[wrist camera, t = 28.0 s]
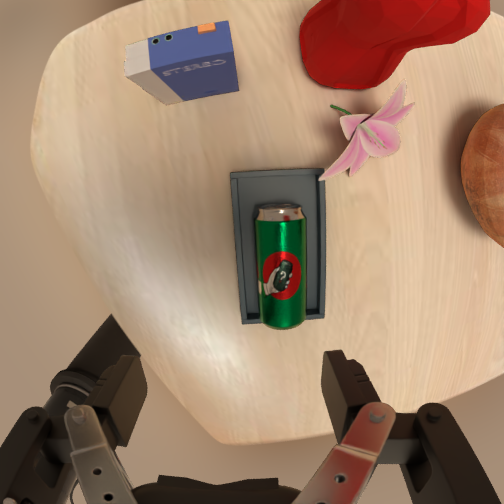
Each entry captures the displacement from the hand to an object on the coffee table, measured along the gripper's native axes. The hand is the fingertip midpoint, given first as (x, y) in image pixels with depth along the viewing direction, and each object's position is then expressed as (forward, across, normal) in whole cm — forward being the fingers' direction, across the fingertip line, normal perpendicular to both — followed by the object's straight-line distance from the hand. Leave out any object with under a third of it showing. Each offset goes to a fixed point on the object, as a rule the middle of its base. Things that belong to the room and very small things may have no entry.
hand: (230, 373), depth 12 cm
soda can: (+18, -4, +8) cm, 20 cm away
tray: (+21, -4, 0) cm, 22 cm away
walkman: (+21, +3, -18) cm, 28 cm away
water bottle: (+21, -13, -21) cm, 33 cm away
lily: (+21, -13, -12) cm, 27 cm away
